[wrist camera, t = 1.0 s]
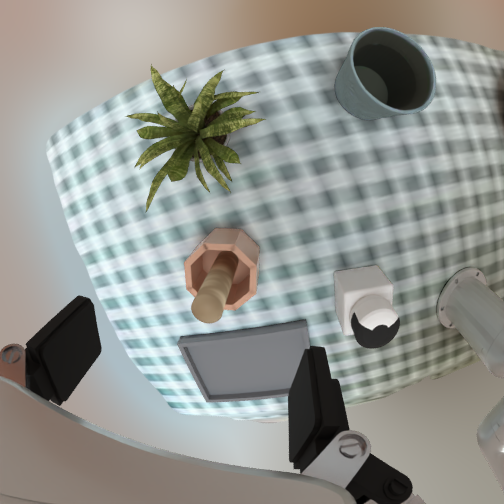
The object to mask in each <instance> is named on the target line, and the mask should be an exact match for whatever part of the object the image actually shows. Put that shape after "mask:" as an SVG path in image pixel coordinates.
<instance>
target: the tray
mask: <svg viewBox="0 0 504 504" xmlns="http://www.w3.org/2000/svg"><path fill="white" fill-rule="evenodd" d="M177 345H178V347H179V349H180V351H181V353H182V355H183V357H184V359H185V361H186V364H187V366H188V368H189V370H190V372H191V374H192V376H193V378H194V379H195V381H196V383H197V385H198V387H199V389H200V391H201V393H202V395H203V397H204V398H205V400H206V402H229V401H245V400H257V399H268V398H277V397H285V396H288V394H289V390H290V387H291V385H292V382H293V380H294V377H295V375H296V372H297V369H298V367H299V364H300V361H301V358H302V356H303V353H304V350H305V349H309V348H310V343H309V337H308V330H307V324H306V319H305V320H299V321H293V322H288V323H282V324H276V325H269V326H263V327H256V328H249V329H242V330H234V331H227V332H218V333H210V334H201V335H191V336H181V337H180V339H179V341H178V343H177Z"/></svg>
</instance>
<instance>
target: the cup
mask: <svg viewBox="0 0 504 504" xmlns="http://www.w3.org/2000/svg"><path fill="white" fill-rule="evenodd" d="M224 250H225V251H232V252H234V253H235V254H236V255H237V257H238V260H239V263H238V266H237V269H236V272H235V276H234V279H233V282H232V285H231V288H230V291H229V294H228V297H227V301H226V304H225V307H224V310H236V309H238V308H239V307H240V306H241V305H243V304H244V303H245V302H246V301H248V300H249V299H250V298H251V297H253V296H254V295H255V294H256V291H257V284H258V276H259V252H260V247H259V246H258V245H257V244H256V243H255V242H254V241H253V240H252V239H251V238H250V237H249V236H248V235H247V234H246V233H245V232H244V231H243V230H242V229H230V228H215V229H214V230H213V231H212V232H211V233H210V234H209V235H208V236H207V237H206V238H205V239H204V240H203V241H202V242H201V243H200V244H199V245H198V246H197V247H196V248H195V250H194V251H193V252H192V253H191V255H190V256H189V257H188V258H187V260H186V261H185V262H184V266H185V278H186V289H187V290H188V291H189V292H190V293H191V294H192V295H193V296H194V297H196V295H197V293H198V291H199V289H200V288H201V286H202V284H203V282H204V280H205V278H206V276H207V274H208V272H209V271H210V269H211V267H212V265H213V263H214V261H215V260H216V258H217V256H218V254H219V253H220V252H222V251H224Z"/></svg>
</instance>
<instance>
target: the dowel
mask: <svg viewBox="0 0 504 504" xmlns="http://www.w3.org/2000/svg"><path fill="white" fill-rule="evenodd" d="M238 263H239V260H238V257H237V255H236V254H235V253H234V252H232V251H225V250H224V251H222V252H220V253H219V254H218V256H217V258H216V260H215V261H214V263H213V265H212V267H211V269H210V271H209V272H208V274H207V276H206V278H205V280H204V282H203V284H202V286H201V288H200V289H199V291H198V293H197V295H196V297H195V299H194V301H193V303H192V306H191V310H192V313H193V315H194V316H195V317H196V318H197V319H198V320H199V321H201V322H204V323H214V322H216V321H218V320H219V319H220V318H221V316H222V313H223V310H224V307H225V304H226V301H227V297H228V294H229V291H230V288H231V285H232V282H233V279H234V276H235V272H236V269H237V266H238Z"/></svg>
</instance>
